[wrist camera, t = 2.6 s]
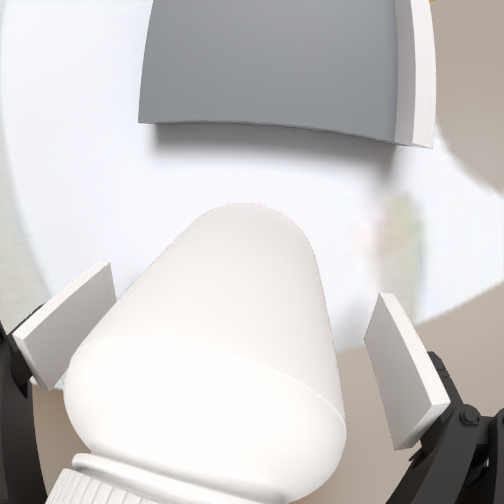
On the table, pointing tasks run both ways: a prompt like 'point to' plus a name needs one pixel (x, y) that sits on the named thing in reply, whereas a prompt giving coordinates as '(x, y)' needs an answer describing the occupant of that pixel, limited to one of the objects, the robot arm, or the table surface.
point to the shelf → (294, 66)
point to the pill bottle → (210, 374)
